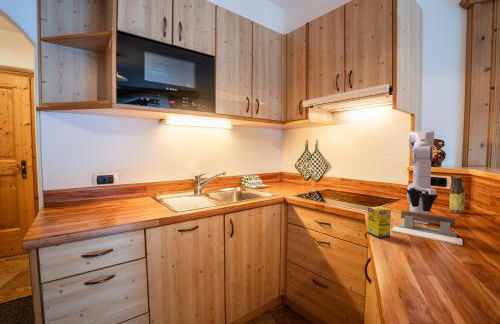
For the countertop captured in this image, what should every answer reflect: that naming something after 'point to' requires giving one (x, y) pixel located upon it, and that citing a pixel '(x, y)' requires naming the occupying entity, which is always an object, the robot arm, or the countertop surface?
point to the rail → (428, 217)
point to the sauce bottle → (457, 196)
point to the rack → (443, 228)
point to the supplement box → (378, 221)
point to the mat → (427, 235)
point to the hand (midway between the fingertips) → (420, 208)
